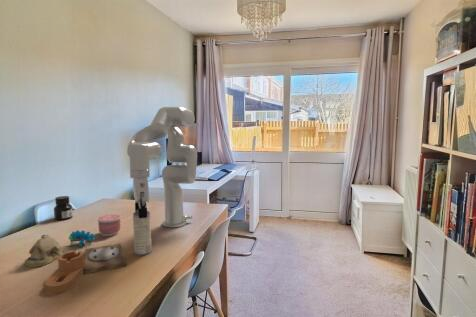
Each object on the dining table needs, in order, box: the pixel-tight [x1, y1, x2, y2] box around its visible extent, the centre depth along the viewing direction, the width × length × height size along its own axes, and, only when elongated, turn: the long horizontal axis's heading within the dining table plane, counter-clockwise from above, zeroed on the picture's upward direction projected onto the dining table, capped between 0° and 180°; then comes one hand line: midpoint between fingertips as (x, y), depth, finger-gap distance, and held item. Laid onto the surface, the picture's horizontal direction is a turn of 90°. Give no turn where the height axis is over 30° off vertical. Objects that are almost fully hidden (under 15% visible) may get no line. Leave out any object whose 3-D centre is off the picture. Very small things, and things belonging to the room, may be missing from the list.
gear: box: [68, 230, 96, 248], centre depth 139 cm, size 11×6×10 cm
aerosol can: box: [132, 209, 152, 257], centre depth 131 cm, size 7×7×20 cm
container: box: [97, 213, 122, 237], centre depth 154 cm, size 10×10×8 cm
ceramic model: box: [24, 234, 64, 268], centre depth 125 cm, size 14×11×10 cm
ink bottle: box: [53, 195, 73, 221], centre depth 177 cm, size 10×9×12 cm
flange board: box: [84, 243, 127, 274], centre depth 126 cm, size 14×20×3 cm
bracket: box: [44, 250, 85, 295], centre depth 109 cm, size 18×8×7 cm, turn 6°
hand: (141, 214), depth 130 cm, fingers open, 9 cm apart
